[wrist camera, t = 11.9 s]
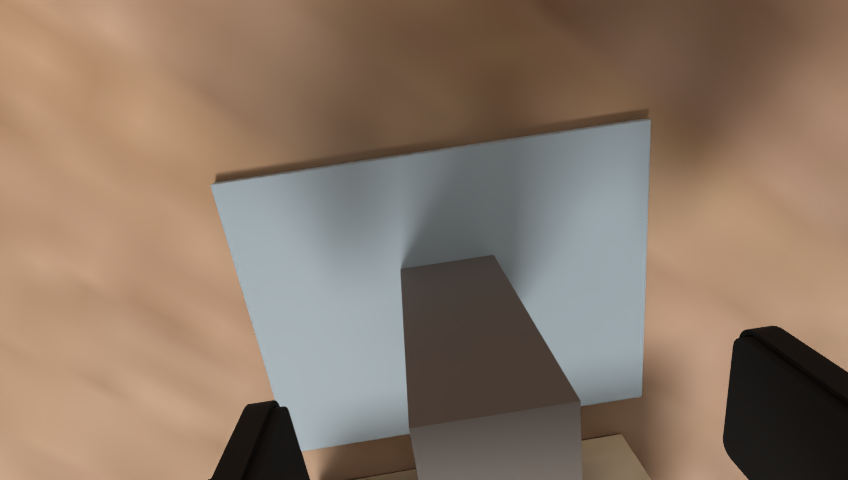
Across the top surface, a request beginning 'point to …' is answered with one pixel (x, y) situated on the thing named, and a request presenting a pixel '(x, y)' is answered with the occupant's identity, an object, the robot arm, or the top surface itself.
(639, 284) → the lid
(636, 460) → the box
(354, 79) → the top surface
